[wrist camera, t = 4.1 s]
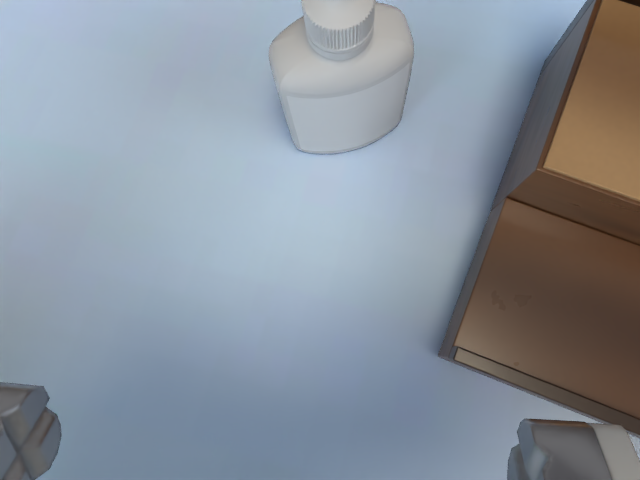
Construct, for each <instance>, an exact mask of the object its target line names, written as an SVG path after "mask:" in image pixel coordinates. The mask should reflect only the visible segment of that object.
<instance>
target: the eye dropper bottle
mask: <svg viewBox="0 0 640 480" xmlns="http://www.w3.org/2000/svg"><path fill="white" fill-rule="evenodd" d="M301 3H302V10H303V17H301V18H299V19H298V20H296V21H295V22H293V23H292V24H291V25H289V26H288V27H287V28H286V29H284V30H283V31H282V32H281V33H280V34H279V35H278V36H277V37H276V38H275V39H274V40H273V41H272V43H271V45H270V47H269V61H270V66H271V70H272V74H273V77H274V81H275V85H276V88H277V92H278V95H279V98H280V102H281V105H282V108H283V111H284V115H285V118H286V121H287V124H288V128H289V131H290V134H291V137H292V140H293V143H294V145H295V146H296V148H297V149H299V150H301V151H303V152H308V153H315V154H335V153H343V152H348V151H352V150H356V149H359V148H362V147H364V146H367V145H369V144H371V143H373V142H375V141H377V140H379V139H380V138H382V137H383V136H385V135H386V134H388V133H389V132H391V131H392V130H393V129H394V128H395V127H396V126H397V125H398V124H399V122H400V120H401V118H402V113H403V108H404V104H405V99H406V94H407V90H408V85H409V80H410V75H411V70H412V64H413V58H414V43H413V39H412V35H411V32H410V29H409V26H408V23H407V20H406V18H405V15H404V14H403V13H402V11H401V10H400V9H398V8H396V7H394V6H391V5H387V4H383V3H377V2H375V0H302V2H301Z"/></svg>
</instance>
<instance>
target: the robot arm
mask: <svg viewBox="0 0 640 480" xmlns="http://www.w3.org/2000/svg"><path fill="white" fill-rule="evenodd" d="M49 399H50V398H49V396H48V394H47V392H46V390H45V388H44V386H37V385H27V384H16V383H5V382H0V480H35V479H37V478H38V477H39V476H41V475H42V474H43V473H45V472H46V471H47V470H49V469H50V467H51V465H52V463H53V461H54V459H55V457H56V455H57V453H58V449H59V445H60V440H61V424H60V421H59V419H58V416H57V415H56V414H55V413H54V412H52V411H51V410H50V409H48V408H47V407H46V404H47V402H48V401H49ZM517 435H518V439H519V444H518V445H516V446H515V447H513V448H511V452H510V456H509V459H508V470H507V480H640V461H639V458H638V456H637V454H636V451H635V449H634V447H633V444H632V442H631V440H630V437H629V435H628V433H627V431H626V430H625V429H624V428H623V427H622V426H621V425H614V424H597V423H585V422H579V421H560V420H542V419H523V420H522V421H521V422H520V425H519V427H518V430H517Z"/></svg>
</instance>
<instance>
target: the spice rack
mask: <svg viewBox="0 0 640 480" xmlns="http://www.w3.org/2000/svg"><path fill="white" fill-rule="evenodd" d="M490 211H491V212H490V213H489V216H488V219H487V221H486V224H485V227H484V230H483V232H482V235H481V238H480V241H479V243H478V246H477V249H476V252H475V254H474V257H473V260H472V263H471V265H470V268H469V271H468V274H467V276H466V279H465V282H464V285H463V287H462V290H461V293H460V296H459V298H458V301H457V304H456V307H455V309H454V312H453V315H452V318H451V320H450V323H449V326H448V329H447V331H446V334H445V337H444V340H443V342H442V345H441V348H440V351H439V353H438V357H440V358H443V359H445V360H448V361H450V362H452V363H455V364H457V365H460V366H462V367H465V368H467V369H470V370H472V371H475V372H477V373H480V374H482V375H485V376H487V377H490V378H492V379H495V380H497V381H500V382H502V383H505V384H507V385H510V386H512V387H514V388H517V389H519V390H522V391H524V392H527V393H529V394H532V395H534V396H537V397H539V398H542V399H544V400H547V401H549V402H552V403H554V404H557V405H559V406H562V407H564V408H567V409H569V410H572V411H574V412H576V413H579V414H581V415H584V416H586V417H589V418H591V419H594V420H596V421H599V422H601V423H604V424H614V425H621V426H622V427H623V428H624V429H625V430H626V431H627V433H629V434H631V435H634V436H636V437H638V438H640V0H587V1H586V2H585V4H584V5H583V7H582V8H581V10H580V11H579V12H578V14H577V15H576V17H575V18H574V20H573V21H572V23H571V24H570V25H569V27H568V28H567V30H566V31H565V33H564V34H563V36H562V37H561V38H560V40H559V41H558V43H557V44H556V46H555V47H554V48H553V50H552V51H551V53H550V54H549V56H548V57H547V59H546V60H545V62H544V65H543V68H542V70H541V73H540V76H539V78H538V81H537V84H536V87H535V89H534V92H533V95H532V98H531V100H530V103H529V106H528V109H527V111H526V114H525V117H524V120H523V122H522V125H521V128H520V131H519V133H518V136H517V139H516V141H515V144H514V147H513V150H512V152H511V155H510V158H509V161H508V163H507V166H506V169H505V172H504V174H503V177H502V180H501V183H500V185H499V188H498V191H497V194H496V196H495V199H494V202H493V205H492V207H491V210H490Z"/></svg>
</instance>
